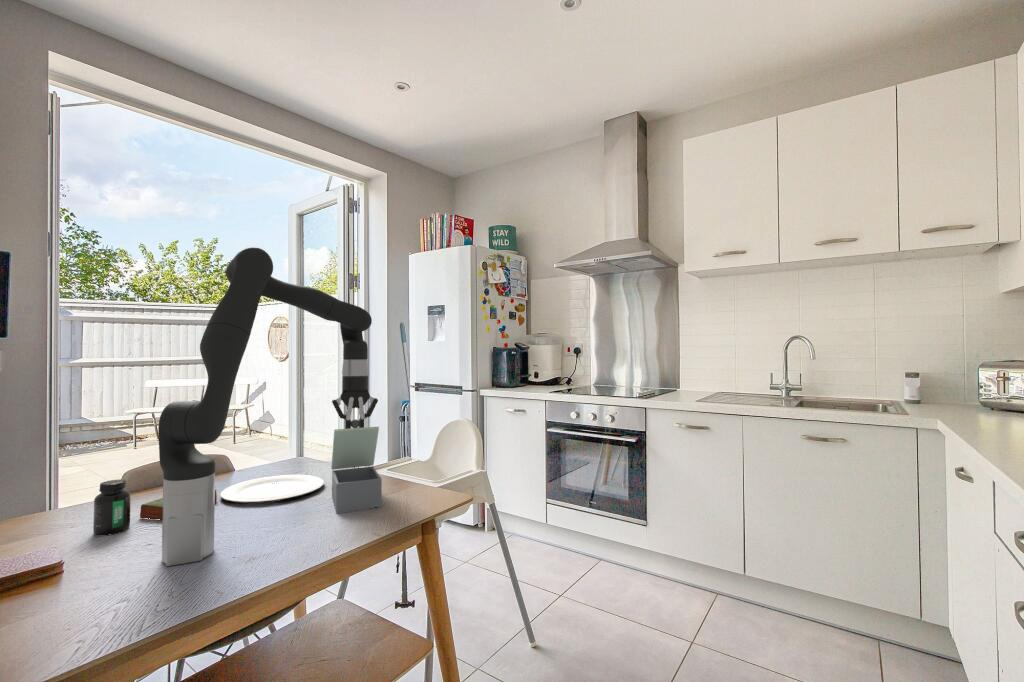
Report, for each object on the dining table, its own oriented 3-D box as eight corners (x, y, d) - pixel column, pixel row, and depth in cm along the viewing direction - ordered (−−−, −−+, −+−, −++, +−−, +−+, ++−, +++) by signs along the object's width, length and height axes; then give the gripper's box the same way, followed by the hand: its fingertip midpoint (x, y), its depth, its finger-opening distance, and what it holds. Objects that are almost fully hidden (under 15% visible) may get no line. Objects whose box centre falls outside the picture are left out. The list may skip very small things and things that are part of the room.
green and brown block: (217, 503, 135) (217, 488, 135) (164, 523, 120) (164, 506, 120) (194, 501, 137) (194, 486, 137) (139, 520, 122) (139, 503, 122)
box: (381, 507, 130) (381, 478, 130) (336, 513, 125) (336, 483, 125) (372, 491, 145) (372, 466, 145) (331, 497, 140) (332, 470, 140)
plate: (342, 488, 149) (342, 482, 149) (250, 514, 125) (250, 507, 125) (293, 475, 166) (293, 470, 166) (202, 496, 142) (202, 490, 142)
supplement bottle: (125, 533, 112) (126, 483, 112) (88, 538, 109) (90, 487, 109) (133, 523, 118) (134, 476, 118) (98, 528, 115) (99, 480, 115)
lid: (378, 428, 137) (376, 414, 141) (334, 431, 131) (333, 416, 136) (373, 465, 145) (371, 450, 150) (331, 469, 140) (330, 454, 144)
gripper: (331, 375, 133) (331, 435, 132) (381, 374, 139) (380, 432, 138) (329, 374, 140) (329, 432, 139) (377, 374, 146) (376, 428, 145)
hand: (354, 431), depth 139 cm, fingers closed on lid, 2 cm apart
